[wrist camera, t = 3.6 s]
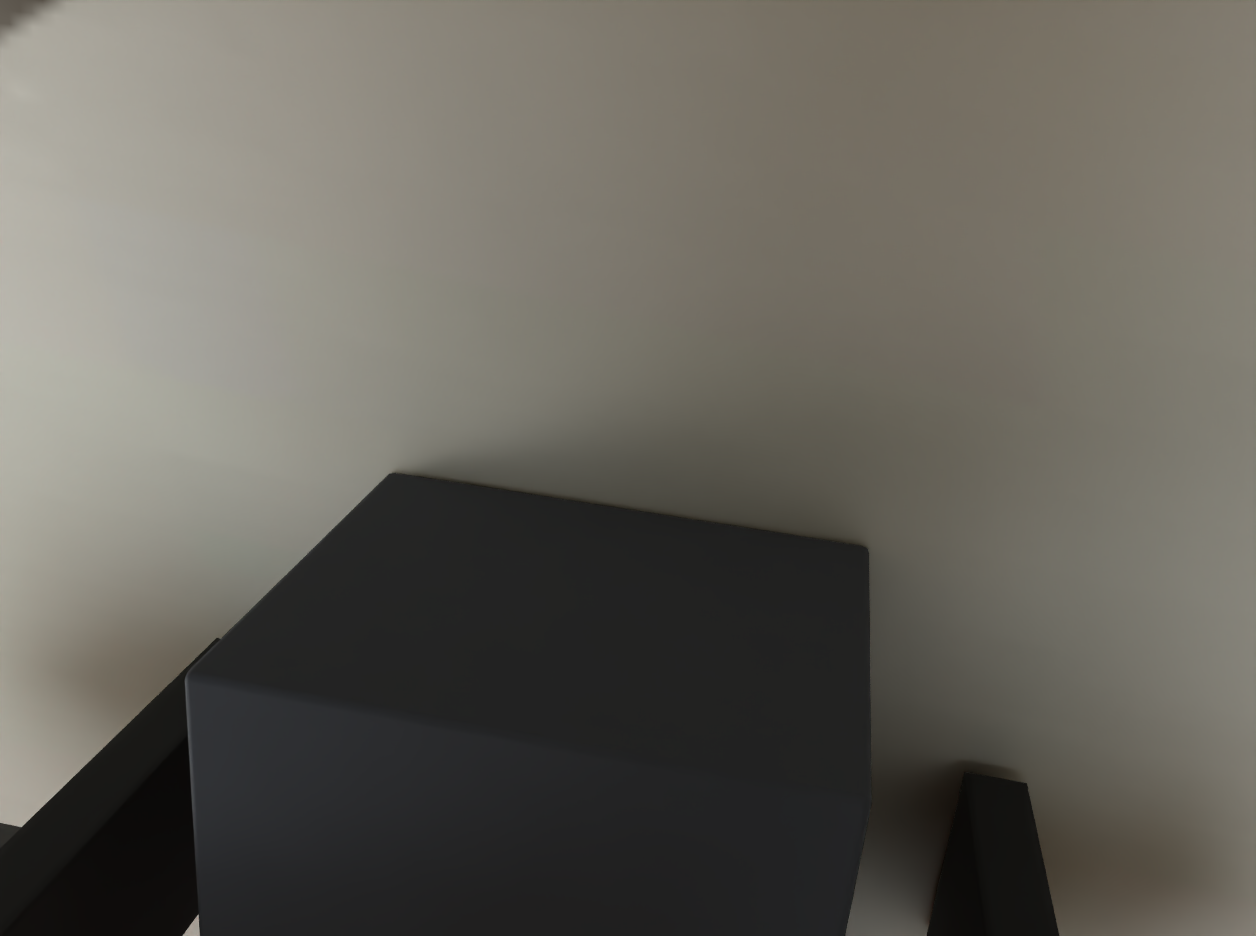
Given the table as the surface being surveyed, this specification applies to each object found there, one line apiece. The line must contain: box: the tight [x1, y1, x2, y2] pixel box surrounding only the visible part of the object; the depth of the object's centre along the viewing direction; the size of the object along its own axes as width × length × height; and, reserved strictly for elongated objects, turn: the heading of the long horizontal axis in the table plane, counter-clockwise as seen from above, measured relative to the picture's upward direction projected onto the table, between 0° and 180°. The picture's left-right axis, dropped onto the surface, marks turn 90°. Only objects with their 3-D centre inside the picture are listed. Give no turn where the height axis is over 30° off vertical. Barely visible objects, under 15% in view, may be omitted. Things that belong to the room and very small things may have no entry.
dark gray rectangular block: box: [185, 473, 872, 936], centre depth 14 cm, size 8×6×5 cm
